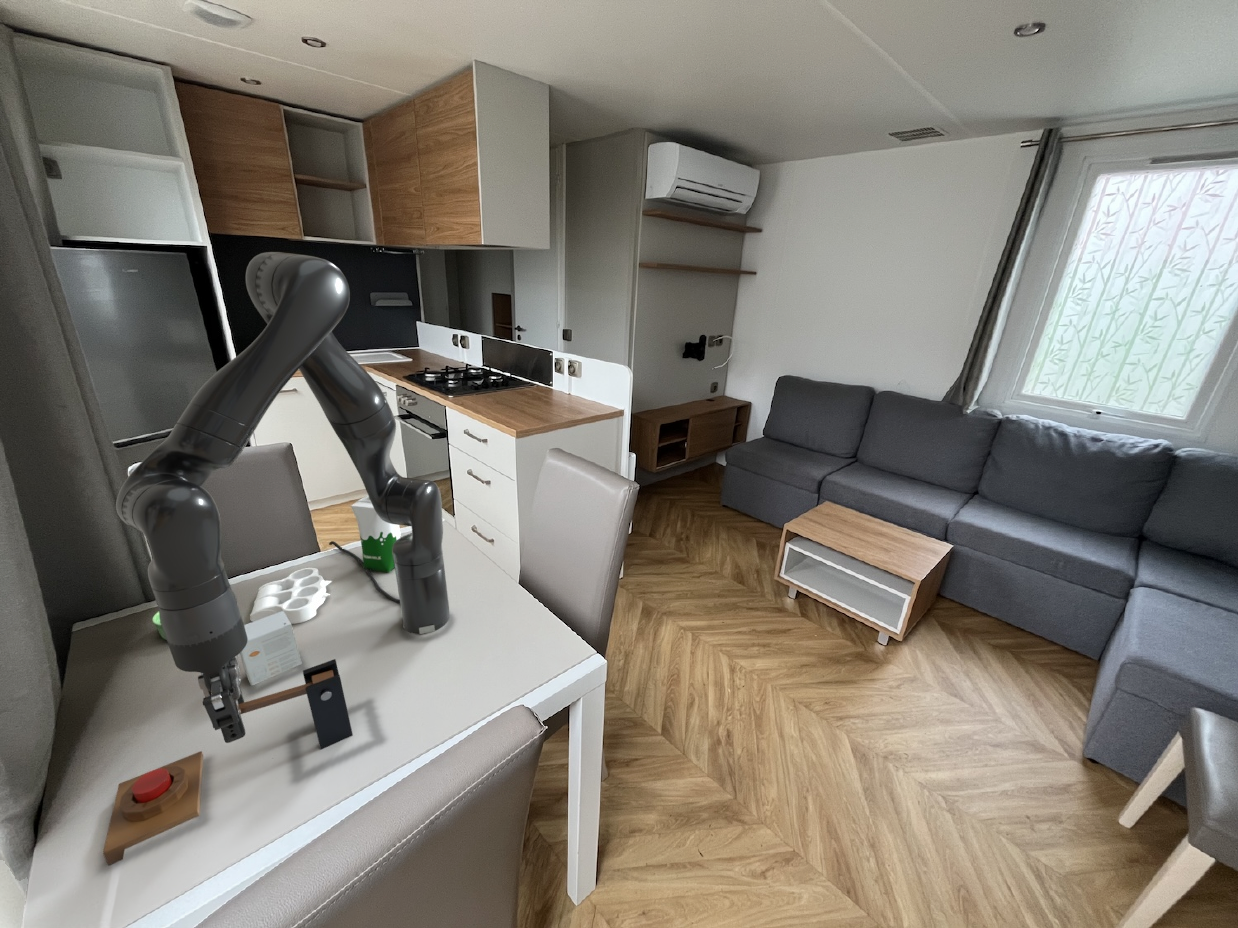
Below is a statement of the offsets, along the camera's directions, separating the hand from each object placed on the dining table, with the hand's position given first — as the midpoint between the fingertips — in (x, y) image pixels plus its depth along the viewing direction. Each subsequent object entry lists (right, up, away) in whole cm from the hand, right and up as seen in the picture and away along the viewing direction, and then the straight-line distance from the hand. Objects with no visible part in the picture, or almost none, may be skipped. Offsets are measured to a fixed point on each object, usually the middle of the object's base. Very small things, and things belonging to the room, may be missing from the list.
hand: (235, 723), depth 69 cm
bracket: (+9, -7, +9) cm, 15 cm away
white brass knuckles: (-19, +5, +42) cm, 47 cm away
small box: (-10, -3, +22) cm, 25 cm away
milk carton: (-7, +10, +58) cm, 59 cm away
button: (-9, -8, -3) cm, 12 cm away
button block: (-9, -11, -2) cm, 14 cm away
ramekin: (-36, +2, +33) cm, 49 cm away
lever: (+5, +1, +3) cm, 6 cm away
